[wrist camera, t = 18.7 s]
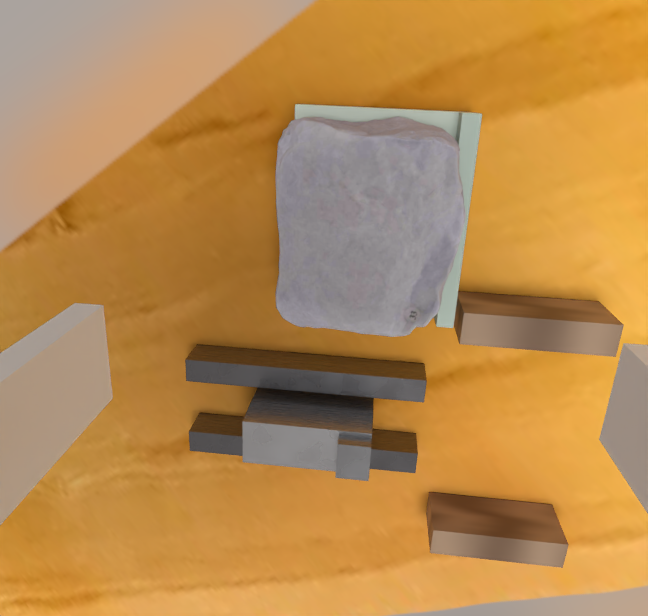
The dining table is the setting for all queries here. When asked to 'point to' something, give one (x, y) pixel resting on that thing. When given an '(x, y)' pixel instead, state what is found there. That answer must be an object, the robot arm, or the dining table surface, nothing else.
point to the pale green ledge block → (467, 136)
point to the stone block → (366, 223)
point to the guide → (309, 377)
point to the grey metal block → (309, 431)
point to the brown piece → (505, 515)
